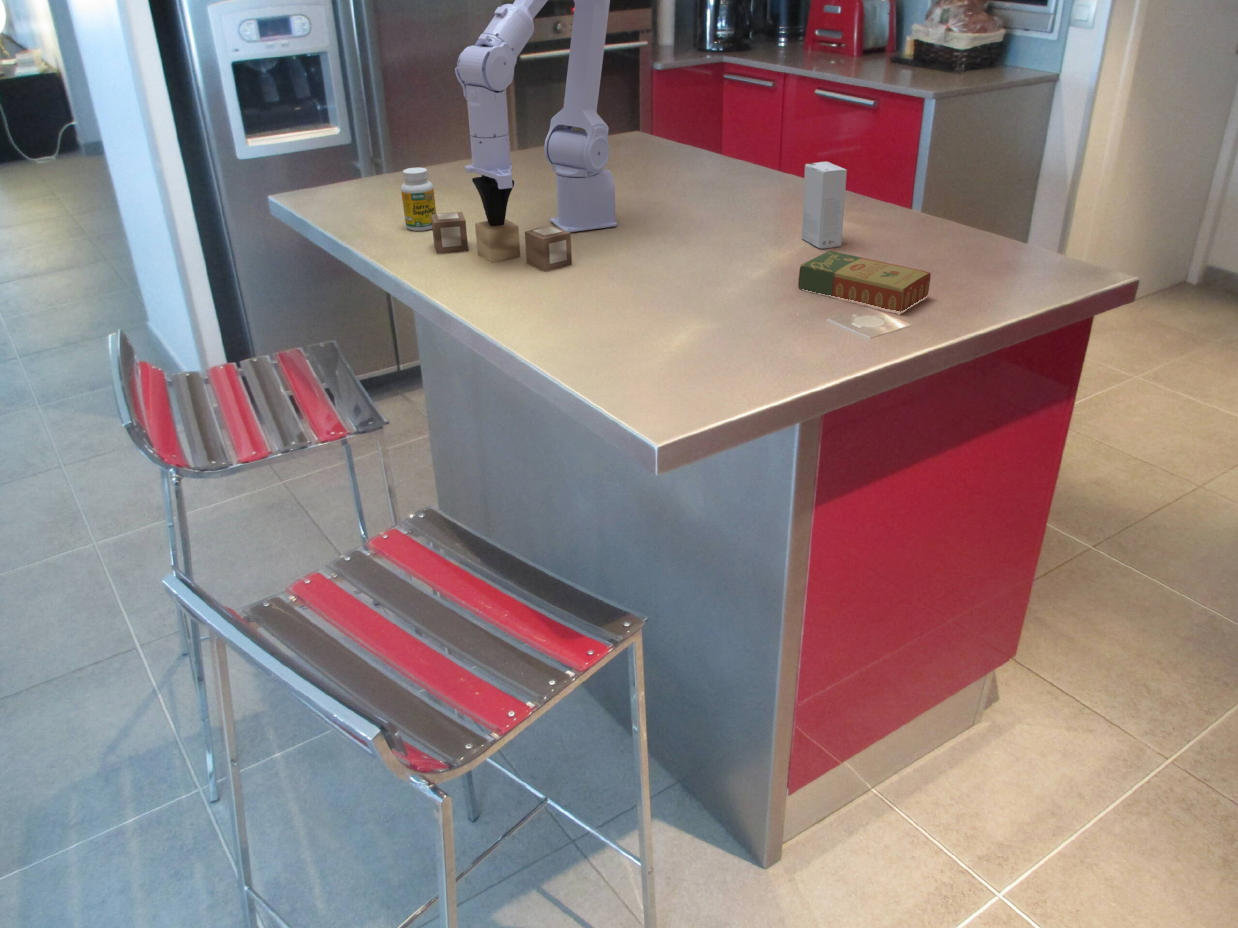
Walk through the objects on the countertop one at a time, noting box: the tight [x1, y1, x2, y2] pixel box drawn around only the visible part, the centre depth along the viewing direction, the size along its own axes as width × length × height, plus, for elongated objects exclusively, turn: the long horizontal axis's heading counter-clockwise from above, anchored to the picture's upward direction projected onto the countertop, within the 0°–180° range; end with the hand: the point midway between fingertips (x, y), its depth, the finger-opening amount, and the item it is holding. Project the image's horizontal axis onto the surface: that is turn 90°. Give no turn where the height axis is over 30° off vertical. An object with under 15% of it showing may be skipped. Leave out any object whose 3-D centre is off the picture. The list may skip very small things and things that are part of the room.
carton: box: [797, 250, 931, 312], centre depth 137 cm, size 8×16×4 cm, turn 49°
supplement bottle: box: [400, 167, 437, 232], centre depth 166 cm, size 5×5×10 cm
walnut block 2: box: [524, 224, 573, 272], centre depth 149 cm, size 5×5×5 cm
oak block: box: [474, 218, 521, 264], centre depth 153 cm, size 5×5×5 cm
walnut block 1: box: [431, 211, 469, 254], centre depth 157 cm, size 5×5×5 cm
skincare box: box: [801, 161, 848, 250], centre depth 155 cm, size 6×4×12 cm
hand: (496, 225), depth 152 cm, fingers closed, pressing on oak block
